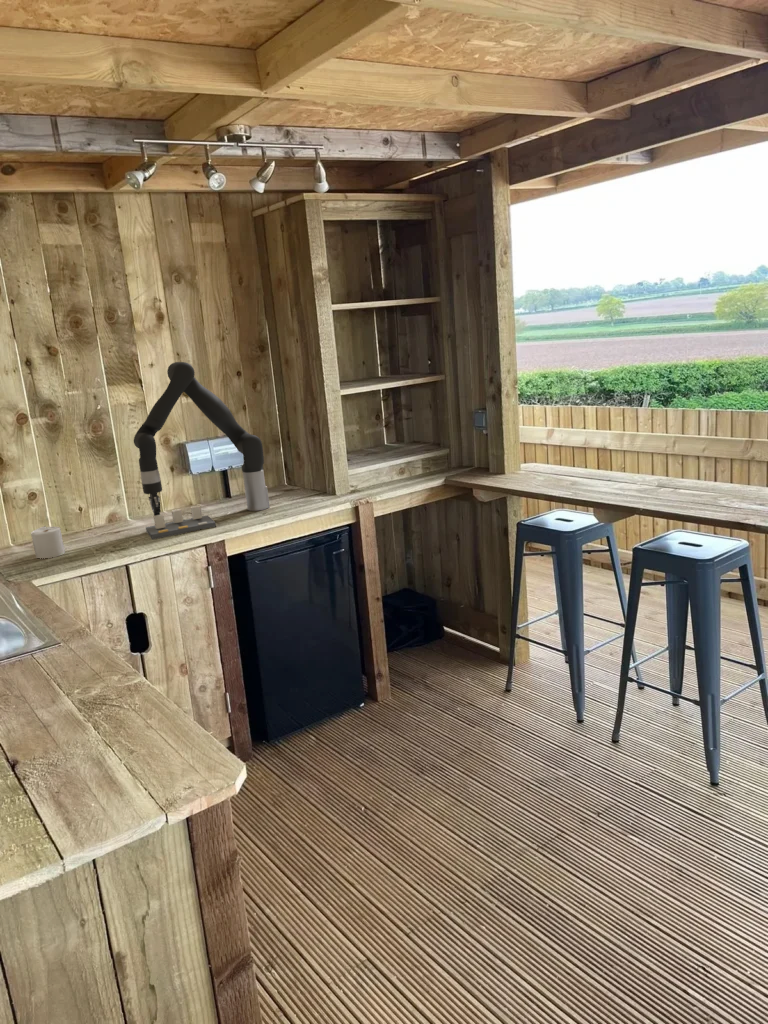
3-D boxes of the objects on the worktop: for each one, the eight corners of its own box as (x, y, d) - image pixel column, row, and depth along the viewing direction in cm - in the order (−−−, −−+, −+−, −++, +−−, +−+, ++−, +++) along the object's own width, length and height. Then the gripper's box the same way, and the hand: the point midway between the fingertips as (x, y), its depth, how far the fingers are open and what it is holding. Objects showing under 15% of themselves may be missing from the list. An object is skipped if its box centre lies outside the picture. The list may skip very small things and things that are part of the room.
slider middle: (182, 520, 328) (180, 508, 327) (183, 521, 326) (181, 510, 324) (173, 521, 327) (171, 510, 325) (174, 523, 324) (172, 511, 323)
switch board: (208, 519, 335) (207, 514, 334) (216, 526, 322) (215, 521, 322) (146, 531, 324) (145, 526, 324) (152, 539, 312) (150, 533, 311)
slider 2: (200, 516, 331) (199, 505, 330) (202, 518, 329) (200, 506, 327) (192, 518, 330) (190, 506, 329) (193, 519, 327) (192, 508, 326)
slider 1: (164, 525, 322) (162, 514, 321) (165, 527, 319) (163, 515, 318) (155, 527, 320) (153, 515, 319) (156, 529, 318) (154, 517, 317)
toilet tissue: (47, 560, 297) (41, 535, 294) (28, 557, 303) (22, 533, 300) (71, 552, 305) (66, 527, 303) (51, 549, 312) (46, 525, 309)
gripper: (163, 482, 314) (170, 523, 319) (157, 476, 326) (164, 516, 330) (144, 485, 311) (151, 526, 316) (139, 479, 323) (146, 519, 327)
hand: (158, 521), depth 323 cm, fingers closed
